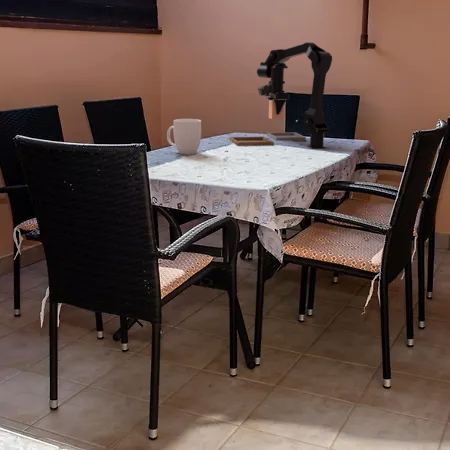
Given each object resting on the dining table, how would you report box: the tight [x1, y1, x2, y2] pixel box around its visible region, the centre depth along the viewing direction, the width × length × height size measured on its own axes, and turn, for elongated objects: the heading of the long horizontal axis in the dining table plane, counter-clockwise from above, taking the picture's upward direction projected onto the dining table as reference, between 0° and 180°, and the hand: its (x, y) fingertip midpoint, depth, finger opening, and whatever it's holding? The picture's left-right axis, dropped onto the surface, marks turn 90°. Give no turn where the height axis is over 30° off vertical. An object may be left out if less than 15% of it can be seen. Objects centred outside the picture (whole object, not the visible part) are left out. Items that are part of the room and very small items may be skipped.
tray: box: [266, 131, 307, 142], centre depth 303 cm, size 16×14×2 cm
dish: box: [229, 136, 275, 147], centre depth 286 cm, size 16×16×2 cm
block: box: [268, 100, 284, 120], centre depth 294 cm, size 5×5×8 cm
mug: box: [166, 118, 202, 155], centre depth 260 cm, size 15×11×13 cm
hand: (275, 113), depth 295 cm, fingers closed on block, 5 cm apart
